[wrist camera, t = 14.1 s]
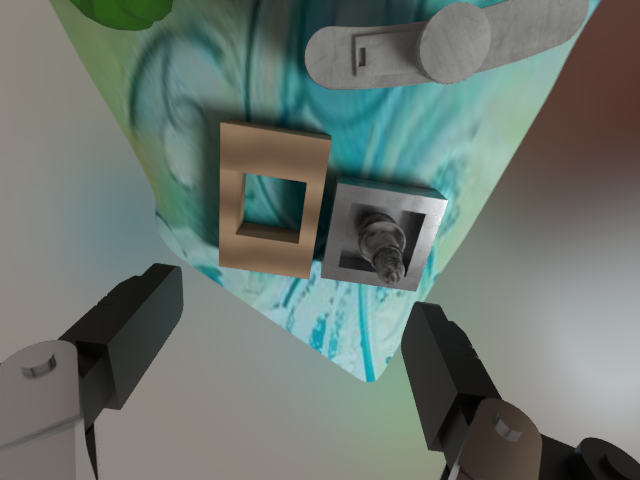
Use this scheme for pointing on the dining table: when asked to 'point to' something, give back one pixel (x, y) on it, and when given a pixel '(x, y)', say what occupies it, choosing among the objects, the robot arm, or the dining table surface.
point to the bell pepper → (125, 12)
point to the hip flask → (441, 44)
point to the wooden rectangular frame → (280, 162)
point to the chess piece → (382, 246)
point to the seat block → (381, 197)
